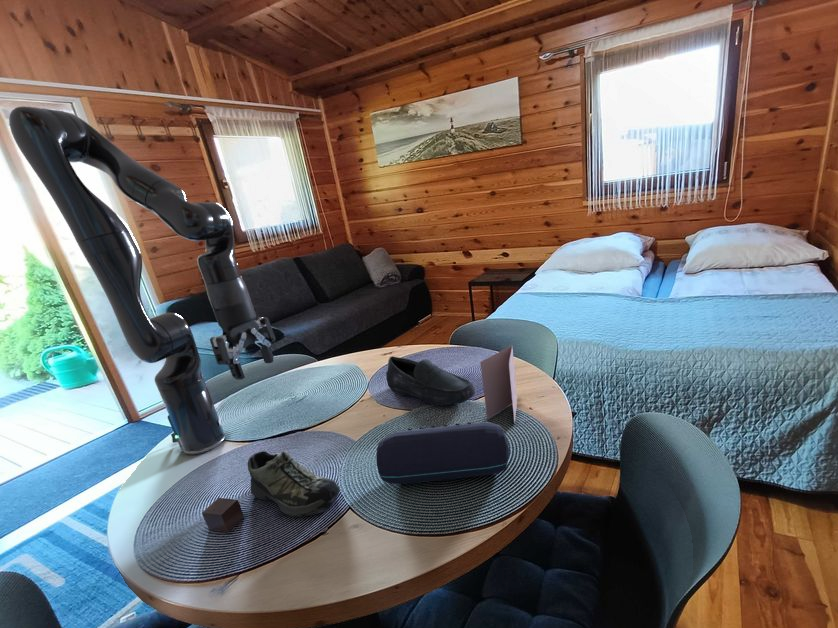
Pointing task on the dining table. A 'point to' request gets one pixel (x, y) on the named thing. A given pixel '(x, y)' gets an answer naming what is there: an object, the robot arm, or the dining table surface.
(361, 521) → the dining table surface
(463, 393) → the loafer
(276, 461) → the hiking shoe
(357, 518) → the dining table surface
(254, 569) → the dining table surface
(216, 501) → the block
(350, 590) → the dining table surface
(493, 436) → the portable speaker
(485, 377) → the greeting card
